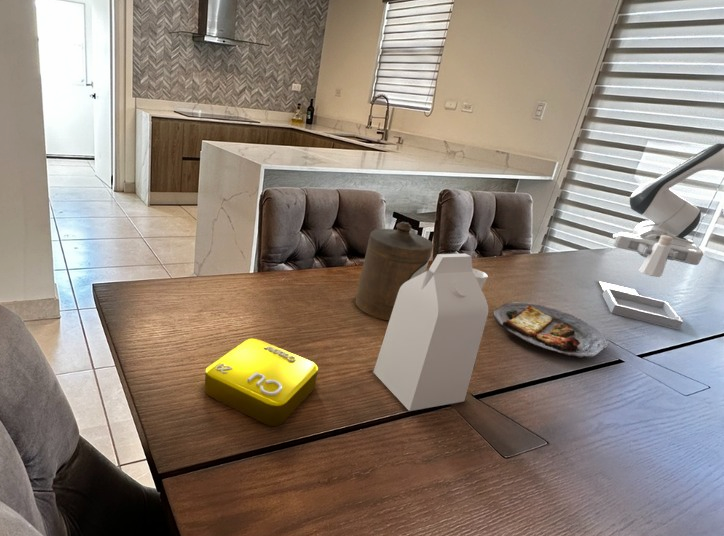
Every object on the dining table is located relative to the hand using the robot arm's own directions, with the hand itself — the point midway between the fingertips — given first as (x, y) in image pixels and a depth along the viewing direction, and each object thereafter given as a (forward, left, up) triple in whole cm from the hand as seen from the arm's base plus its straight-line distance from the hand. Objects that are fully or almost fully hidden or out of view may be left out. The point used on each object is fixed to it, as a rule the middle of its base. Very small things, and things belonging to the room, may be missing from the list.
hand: (659, 254), depth 129 cm
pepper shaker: (0, -1, -6) cm, 6 cm away
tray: (0, +2, -17) cm, 17 cm away
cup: (+45, +27, -17) cm, 55 cm away
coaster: (+2, -13, -17) cm, 21 cm away
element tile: (+74, +95, -17) cm, 121 cm away
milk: (+50, +78, -17) cm, 94 cm away
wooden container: (+63, +48, -17) cm, 81 cm away
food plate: (+26, +37, -17) cm, 48 cm away
